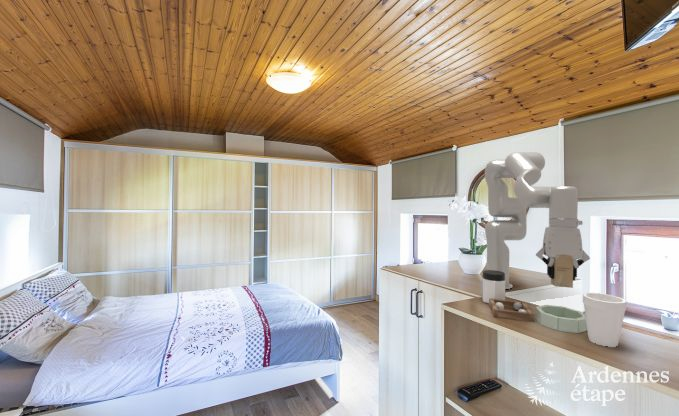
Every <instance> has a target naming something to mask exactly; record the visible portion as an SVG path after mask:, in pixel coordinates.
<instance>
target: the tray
mask: <svg viewBox="0 0 679 416" xmlns="http://www.w3.org/2000/svg"><path fill="white" fill-rule="evenodd" d="M497 302H500V303H502V304H503V305H504V309H503V310H500V309H497V307H496V305H495V304H496V303H497ZM516 302H519V303H521V304H522V306H523V308H522V309H524V310H526V311H527V312H518V311H517V310H515V309H514V307H513V305H514V303H516ZM488 304H489V308H490V310H491V312H492V315H493V317H494V318H499V319H508V320H517V321H524V322H534V321H535V315H534V314H535V313H534V312H533V311H532V310H531V309H530V308H529V306H528V304H527V303H526V302H523V301H515V300H506V299H505V300H497V299H489V303H488ZM505 308H506V309H505ZM507 309H512V310H507ZM513 309H514V310H513Z"/></svg>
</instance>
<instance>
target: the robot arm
mask: <svg viewBox="0 0 679 416" xmlns="http://www.w3.org/2000/svg"><path fill="white" fill-rule="evenodd" d="M545 165H546V159H545V157H544V155H543V154H541V153H540V152H536V151H535V152H533V151H529V152H528V151H527V152H525V151H524V152H523V151H521V152H517V151H516V152H512V153H511V154H509V155H507V156H506V157H505V159H495V160H491V161H489V162H488V163H487V164H486V165H485V169H484V177H485V181H486V185H487V202H488V203H487V205H488V206H487V208H488V213H489V216H491V217H493V218H511V220H506V219H494V220H490V221H488V222H486V224H485V227H484V232H485V233H484V234H485V239H486V270H495V271H501V272H504V273H505V289H509V290H511V289H510V288H512V287H514V286H513V284H512V283H510V249H509V246H508V245H507V244H506V242H505V241H522V240H524V239H525V238H526V236H527V208H530V209H542V208H543V209H544V208H545V209H548V227H547V226H546V227H545V229H544V234H543V240H542V247H541V248H540V250H538V251H537V252H536V253H535V256H536V257H538V258H539V259H540V260H541V261H542V262H544V264H545V265H546V271H547V272H546V274H547V276H548V278H550V280H551V279H554V267H553V263H554V260H555V257H556V254H565V255H573V281H576V278H577V277H578V268H580V266H582V265H583V264H584V263H585V262H587V261H590V258H591V257H590V256H589V255H588V254H587V253H586V252H585V250H583V240H582V234H581V229H580V228H578V227H579V226H582V225H583V224H584V223H583V220H580V219H578V204H579V198H578V197H579V191H578V188H577V187H575V186H573V185H570V186H569V185H567V186H566V185H565V186H563V185H562V186H560V185H559V186H533V185H535V184H536V183H538V182H539V181H540V179H541V177H542V171H543V169H544V168H545ZM503 179H515V181H514V186H513V190H514V192H513V193H514V195H515V197H513V196H511V197H509V187H508V184H507V183H506V182H505V181H504V180H503ZM546 257H547V258H546ZM512 289H513V288H512Z"/></svg>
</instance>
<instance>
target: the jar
mask: <svg viewBox="0 0 679 416" xmlns="http://www.w3.org/2000/svg"><path fill="white" fill-rule="evenodd" d="M481 278H482V283H481V284H482V285H481V288H482V289H481V290H482V291H481V295H482V296H481V300H482V302H483V303H485V304H489V299H497V300H506V290H505V273H504V272H501V271H495V270H487V269H484V270H483V271H482V276H481Z"/></svg>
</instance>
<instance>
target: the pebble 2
mask: <svg viewBox="0 0 679 416" xmlns="http://www.w3.org/2000/svg"><path fill="white" fill-rule="evenodd" d="M519 302H520V301H517V302H516V303H514V305H513V307H514V311H518V310H520V309H522V308H523V306H522V304H521V303H519Z"/></svg>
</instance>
